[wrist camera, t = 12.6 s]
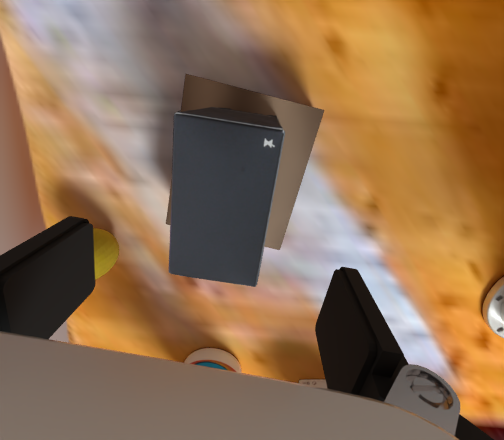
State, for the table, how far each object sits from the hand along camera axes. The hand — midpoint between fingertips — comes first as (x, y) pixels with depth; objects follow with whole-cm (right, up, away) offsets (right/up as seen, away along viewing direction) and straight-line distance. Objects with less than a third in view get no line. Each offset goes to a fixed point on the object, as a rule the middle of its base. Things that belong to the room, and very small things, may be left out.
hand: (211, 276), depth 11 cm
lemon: (-17, 0, +25) cm, 30 cm away
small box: (0, +7, +16) cm, 17 cm away
